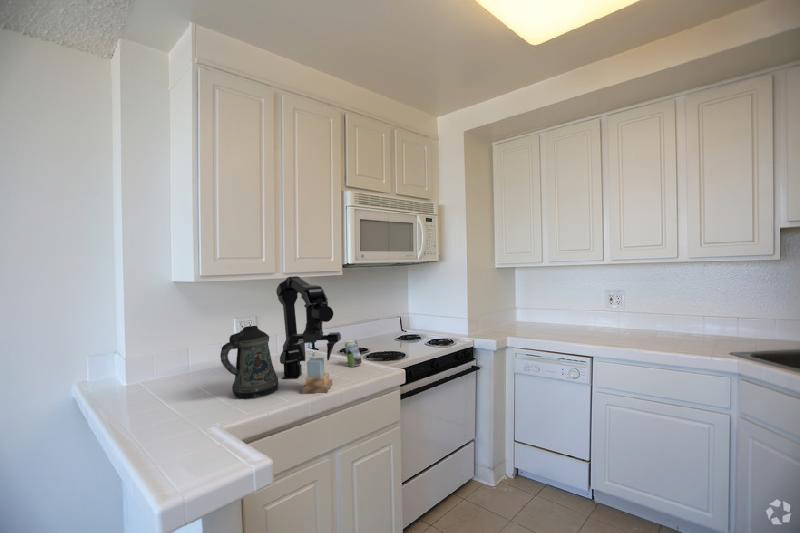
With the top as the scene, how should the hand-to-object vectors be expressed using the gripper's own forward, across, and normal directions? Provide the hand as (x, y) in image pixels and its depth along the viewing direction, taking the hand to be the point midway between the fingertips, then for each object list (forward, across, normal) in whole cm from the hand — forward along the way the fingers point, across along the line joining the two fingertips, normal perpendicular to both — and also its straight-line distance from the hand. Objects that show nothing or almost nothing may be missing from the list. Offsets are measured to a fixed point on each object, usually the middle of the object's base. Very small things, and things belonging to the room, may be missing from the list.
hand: (316, 360), depth 144 cm
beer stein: (+11, -24, -2) cm, 27 cm away
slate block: (+6, 0, 0) cm, 6 cm away
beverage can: (+11, +8, +32) cm, 35 cm away
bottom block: (+12, 0, 0) cm, 12 cm away
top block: (+9, 0, 0) cm, 9 cm away
